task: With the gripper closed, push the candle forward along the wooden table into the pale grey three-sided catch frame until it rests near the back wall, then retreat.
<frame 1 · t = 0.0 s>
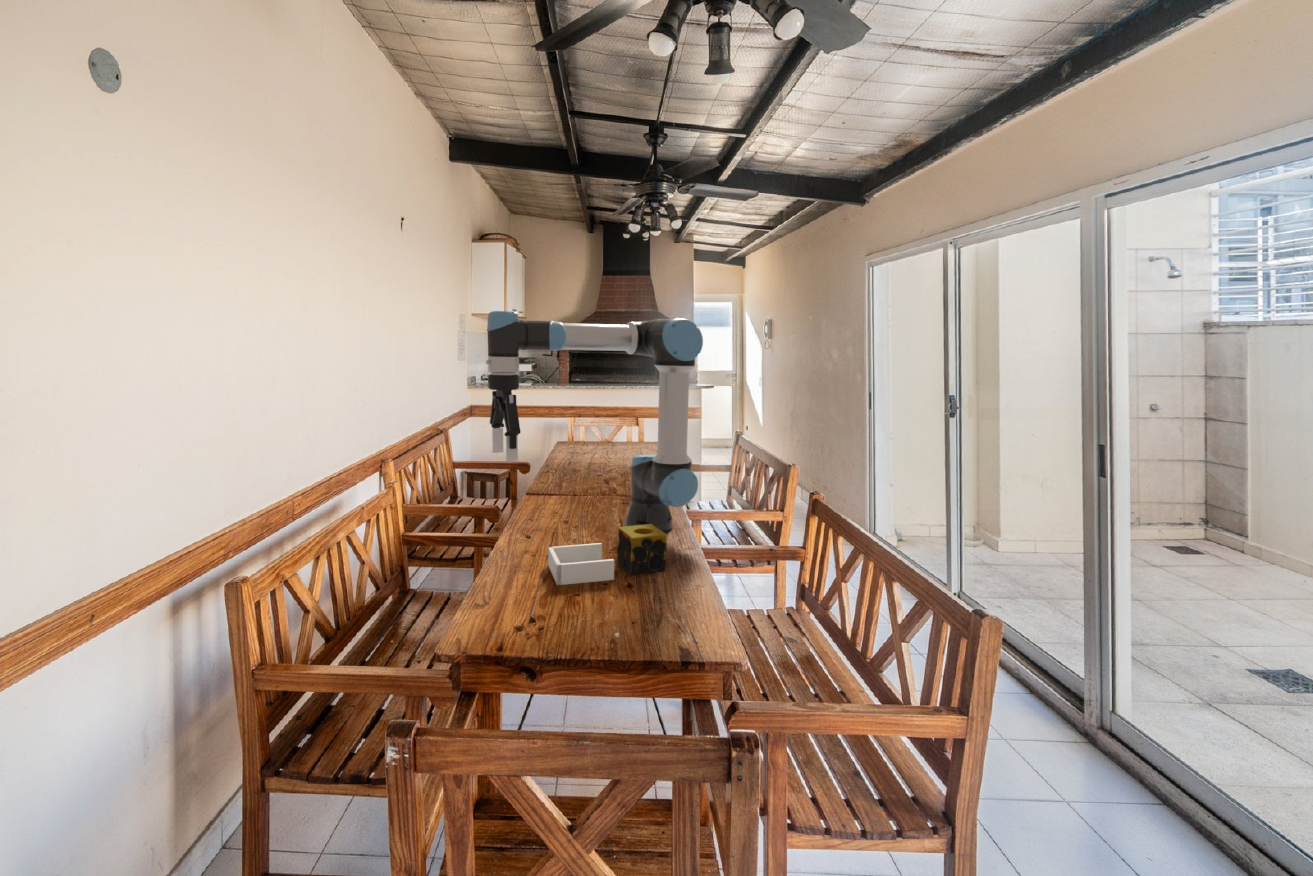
hand: (504, 456, 163), 28 cm above the table, fingers open, 13 cm apart
candle: (640, 568, 166), on the table
catch frame: (582, 572, 161), on the table
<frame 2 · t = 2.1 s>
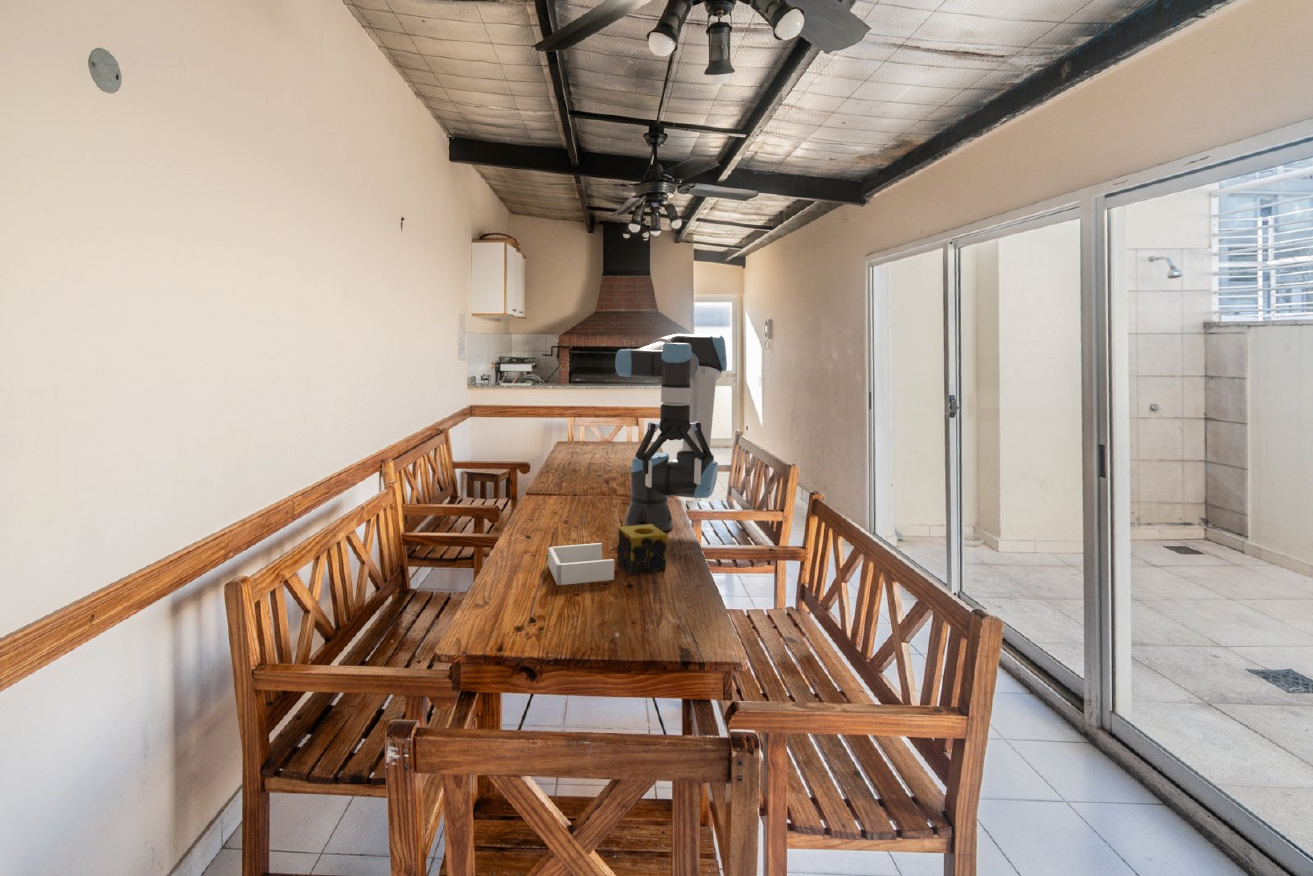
hand: (673, 485, 166), 21 cm above the table, fingers open, 13 cm apart
nothing on the table moved.
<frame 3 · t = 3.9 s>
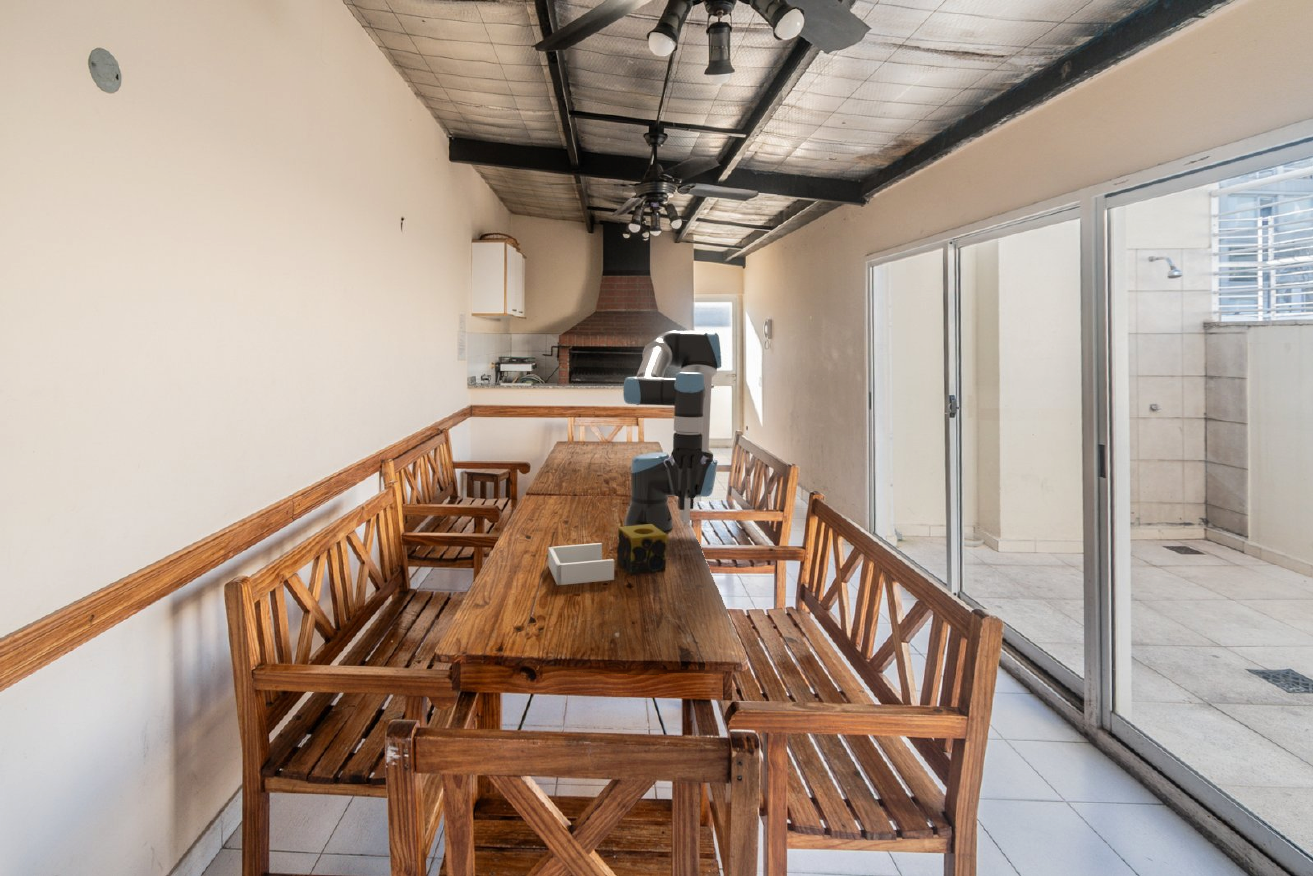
hand: (685, 521, 167), 12 cm above the table, fingers closed
nothing on the table moved.
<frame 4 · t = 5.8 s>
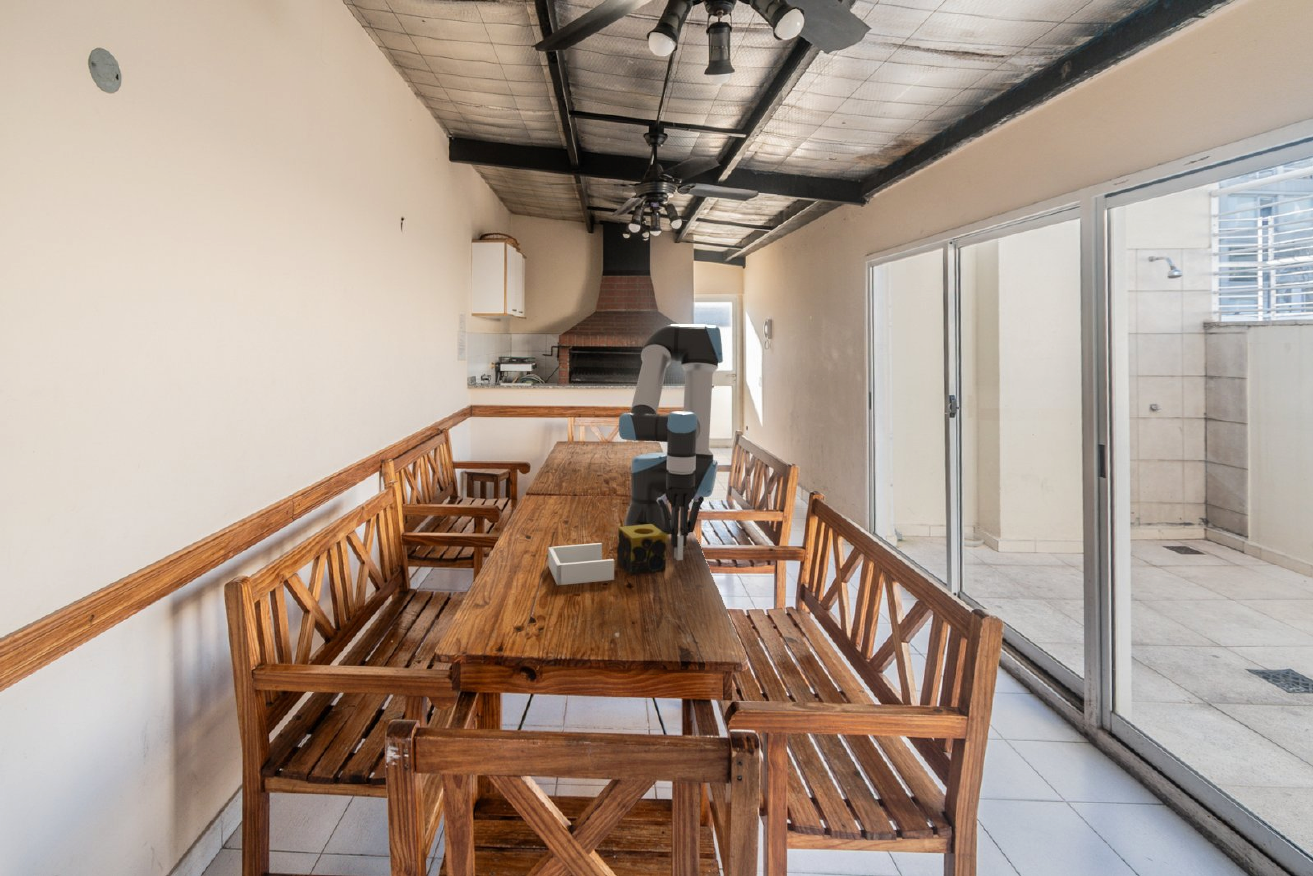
hand: (678, 558, 169), 1 cm above the table, fingers closed
nothing on the table moved.
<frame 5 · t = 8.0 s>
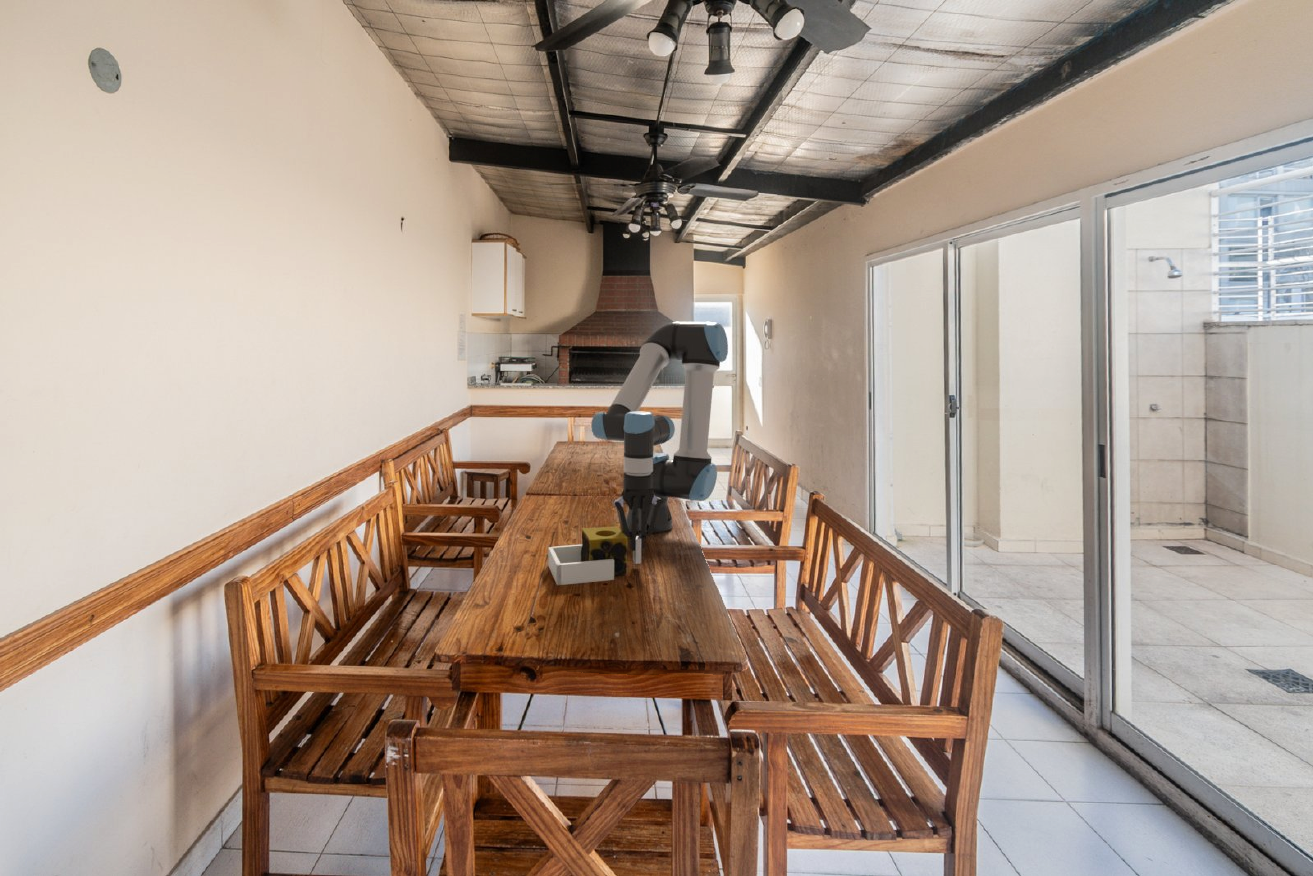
hand: (636, 561, 165), 2 cm above the table, fingers closed
candle: (603, 570, 163), on the table, touching hand
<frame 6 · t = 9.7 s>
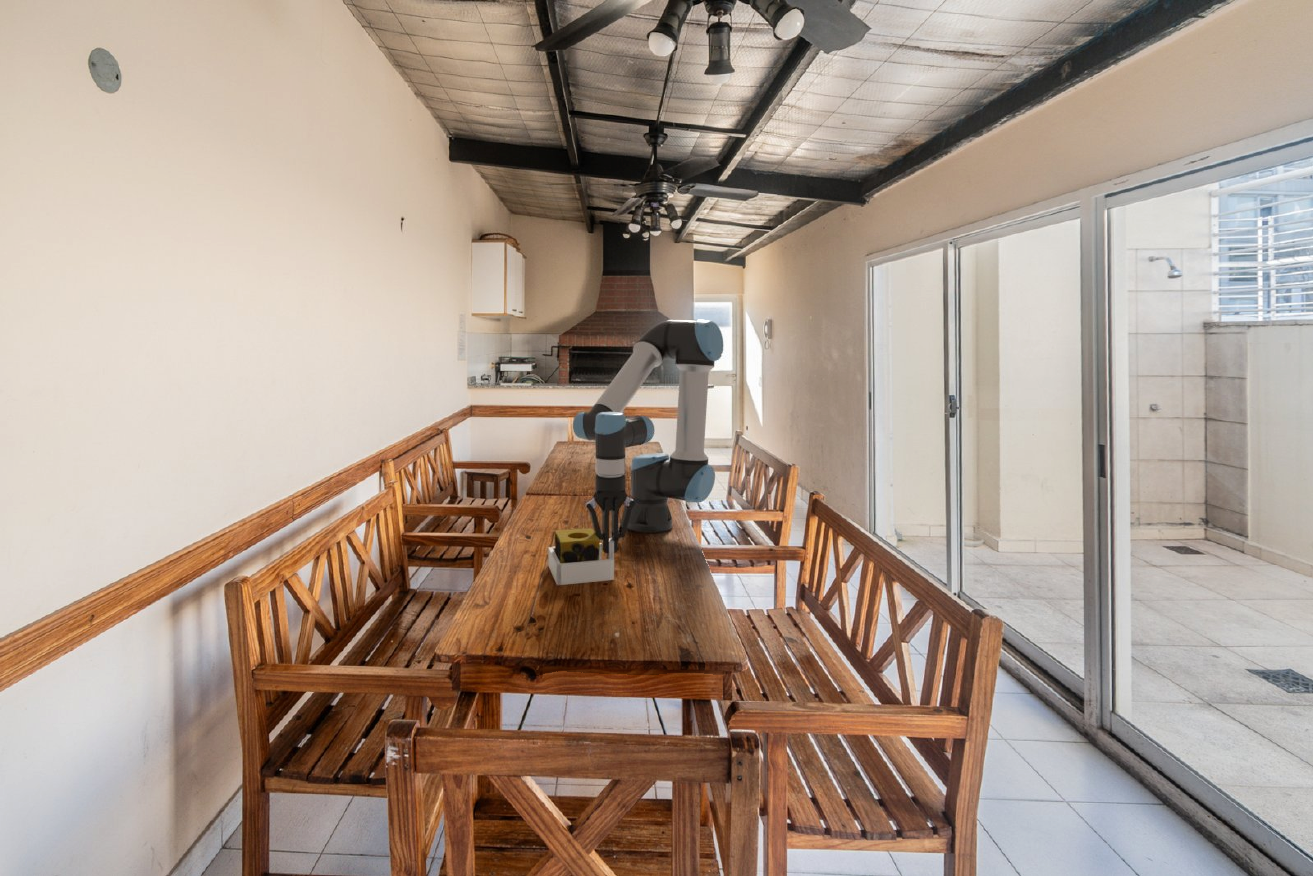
hand: (610, 564, 163), 2 cm above the table, fingers closed
candle: (576, 573, 161), on the table, touching catch frame, hand
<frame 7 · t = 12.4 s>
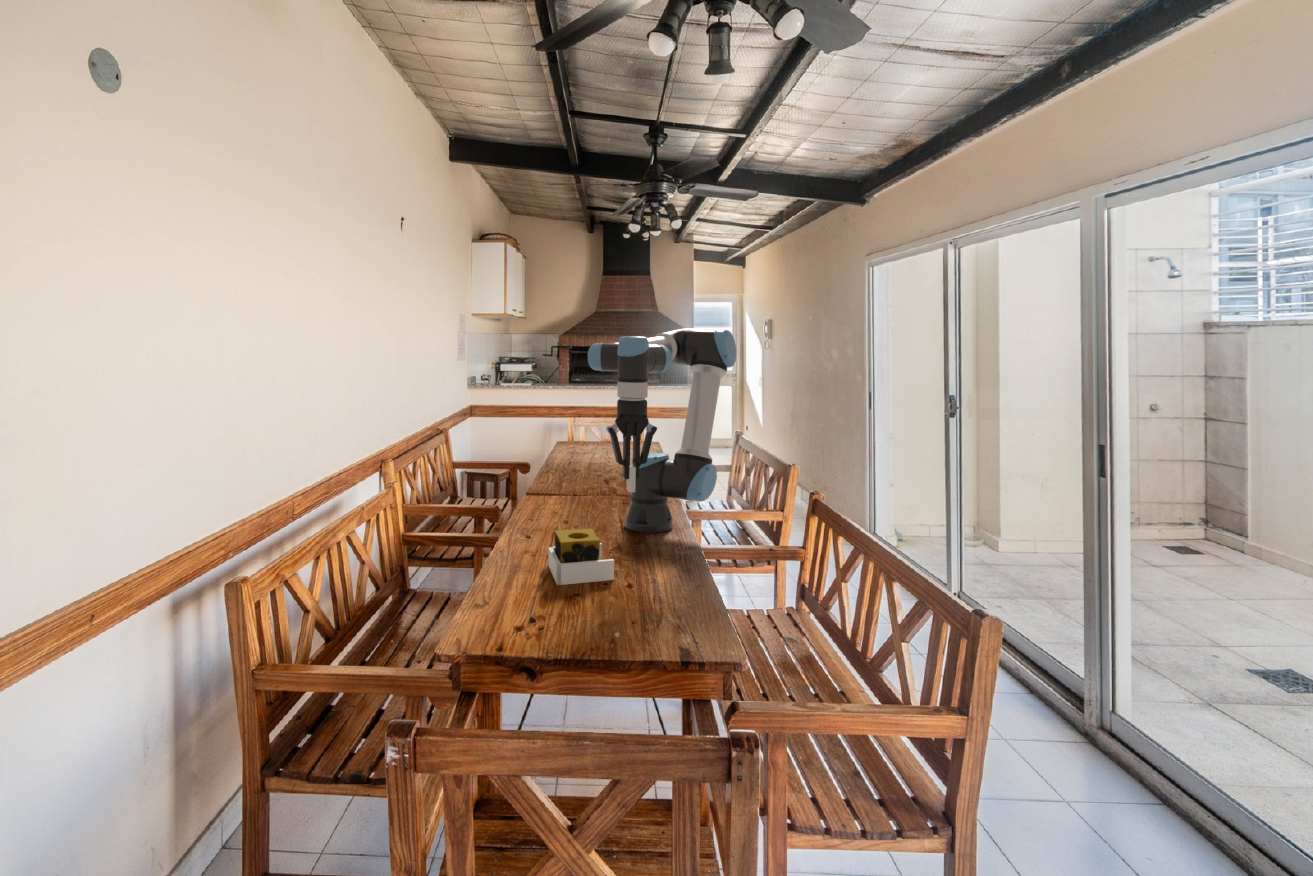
hand: (631, 491, 162), 20 cm above the table, fingers closed
candle: (576, 573, 161), on the table
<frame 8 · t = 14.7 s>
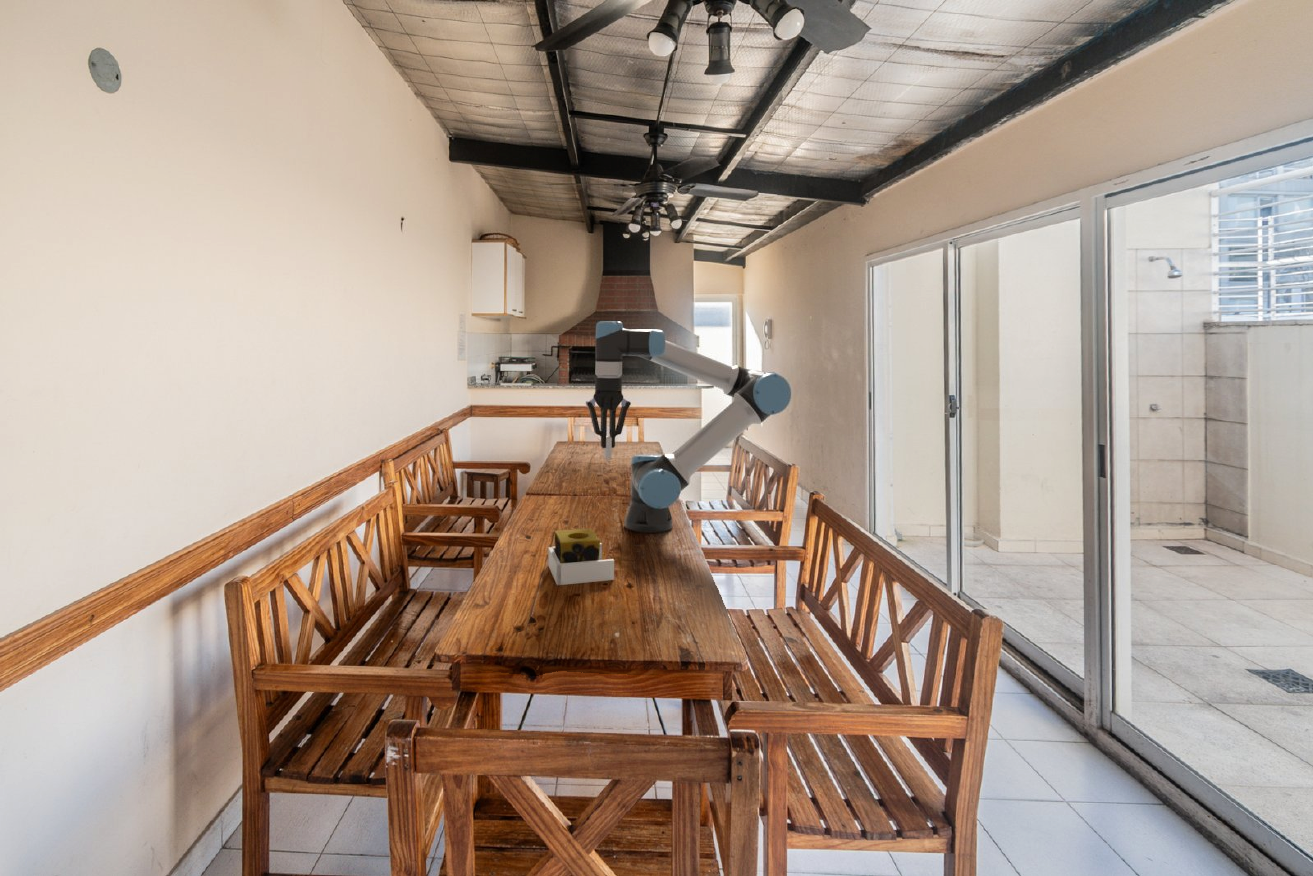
hand: (607, 458, 183), 24 cm above the table, fingers closed
nothing on the table moved.
at the end: candle 1.5 cm from the catch frame (horizontally); candle tilted 0°; candle moved 17.0 cm from its start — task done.
